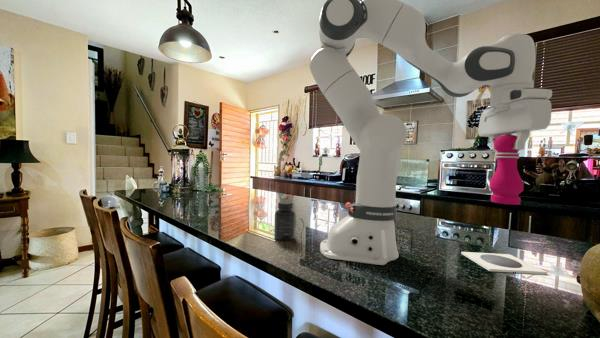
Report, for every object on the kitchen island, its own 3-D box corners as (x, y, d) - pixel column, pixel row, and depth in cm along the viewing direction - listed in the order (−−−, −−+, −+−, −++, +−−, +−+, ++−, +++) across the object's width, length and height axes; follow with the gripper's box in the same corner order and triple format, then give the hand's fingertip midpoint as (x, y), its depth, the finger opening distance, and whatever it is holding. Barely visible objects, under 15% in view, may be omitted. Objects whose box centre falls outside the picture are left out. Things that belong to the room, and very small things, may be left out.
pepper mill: (529, 205, 64) (533, 127, 64) (497, 203, 65) (501, 127, 65) (512, 201, 71) (515, 131, 71) (483, 200, 73) (486, 130, 72)
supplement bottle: (273, 235, 87) (274, 200, 86) (292, 234, 88) (294, 200, 88) (274, 241, 80) (276, 204, 80) (296, 241, 81) (297, 204, 81)
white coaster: (489, 271, 63) (489, 268, 63) (461, 253, 75) (461, 251, 75) (547, 274, 63) (547, 271, 63) (509, 256, 75) (509, 253, 75)
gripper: (473, 106, 78) (470, 151, 79) (530, 87, 58) (526, 148, 58) (494, 107, 78) (491, 152, 78) (559, 88, 57) (555, 149, 58)
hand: (507, 150), depth 68 cm, fingers closed on pepper mill, 6 cm apart
